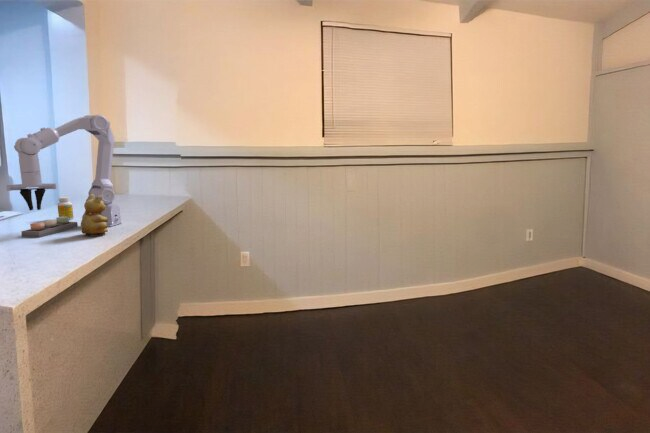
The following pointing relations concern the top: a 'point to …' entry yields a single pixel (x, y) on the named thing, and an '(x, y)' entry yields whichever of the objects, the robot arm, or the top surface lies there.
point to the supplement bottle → (65, 208)
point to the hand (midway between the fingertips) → (35, 209)
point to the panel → (49, 230)
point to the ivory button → (50, 223)
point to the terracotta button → (37, 226)
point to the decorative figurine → (94, 217)
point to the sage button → (62, 220)
